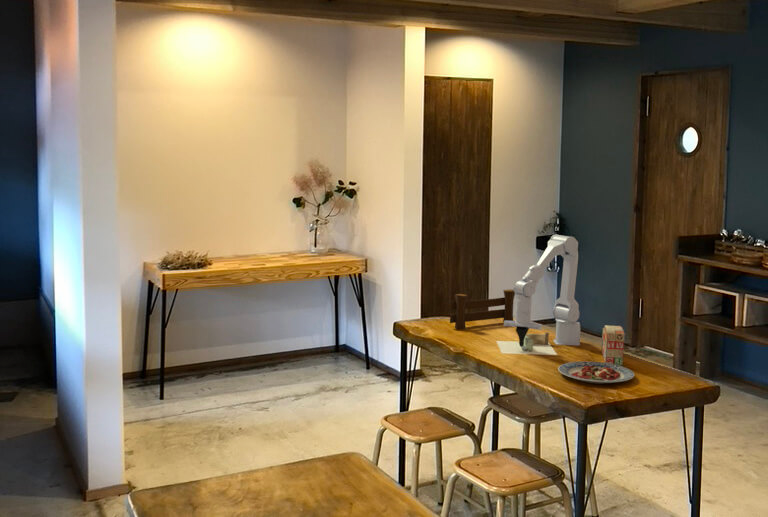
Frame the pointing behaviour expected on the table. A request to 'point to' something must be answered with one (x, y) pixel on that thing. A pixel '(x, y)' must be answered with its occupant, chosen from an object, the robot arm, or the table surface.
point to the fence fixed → (539, 338)
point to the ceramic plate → (596, 372)
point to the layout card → (515, 348)
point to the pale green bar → (528, 343)
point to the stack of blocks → (613, 344)
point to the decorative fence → (482, 315)
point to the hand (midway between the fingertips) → (521, 345)
